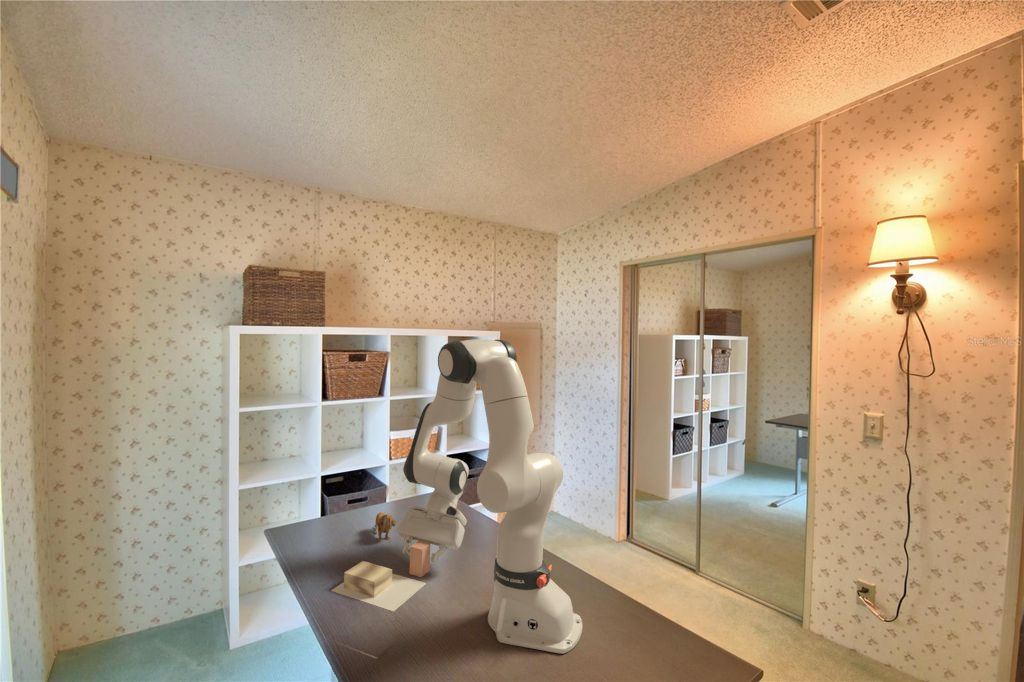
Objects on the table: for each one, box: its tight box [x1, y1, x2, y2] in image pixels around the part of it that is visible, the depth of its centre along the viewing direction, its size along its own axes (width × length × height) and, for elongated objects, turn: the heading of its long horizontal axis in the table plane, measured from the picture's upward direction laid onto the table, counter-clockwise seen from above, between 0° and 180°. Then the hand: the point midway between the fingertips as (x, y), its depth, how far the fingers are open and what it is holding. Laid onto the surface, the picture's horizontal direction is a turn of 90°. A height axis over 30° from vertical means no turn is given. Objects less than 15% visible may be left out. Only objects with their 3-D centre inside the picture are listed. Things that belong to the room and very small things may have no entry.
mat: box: [330, 572, 427, 612], centre depth 121 cm, size 20×14×1 cm
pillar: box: [408, 541, 431, 578], centre depth 129 cm, size 4×4×8 cm
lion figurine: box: [373, 511, 398, 543], centre depth 152 cm, size 15×5×9 cm, turn 35°
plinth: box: [343, 560, 393, 597], centre depth 121 cm, size 10×7×4 cm
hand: (419, 557), depth 129 cm, fingers open, 8 cm apart
